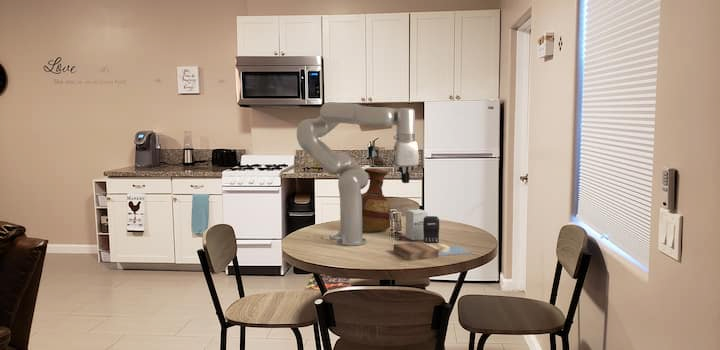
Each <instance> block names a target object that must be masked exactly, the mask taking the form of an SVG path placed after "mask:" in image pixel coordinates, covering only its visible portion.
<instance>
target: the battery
mask: <svg viewBox="0 0 720 350" xmlns="http://www.w3.org/2000/svg"><path fill="white" fill-rule="evenodd" d="M439 234H440V218H439V217H438V216H436V215H427V216H425V217H424V219H423V239H422V240H423V242H424V244H426V243H427V244H428V243H429V244H434V243H436V244H439V241H440V238H439V237H440V235H439Z"/></svg>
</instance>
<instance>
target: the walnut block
mask: <svg viewBox="0 0 720 350" xmlns="http://www.w3.org/2000/svg"><path fill="white" fill-rule="evenodd" d="M428 245H429V244H426V243H425V242H424V243H423V242H421V241H414V242H406V243H405V242H404V243H396V244H395V243H394V244H393V253H395V254H397V255H399V256H401V257H402V258H405V259H407V261H408V260H409V261H411V262H412V261H419V260H420V261H421V260H427V259H436V258H439V256H438V249H435V248H433V247H431V246H428Z"/></svg>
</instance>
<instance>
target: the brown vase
mask: <svg viewBox="0 0 720 350" xmlns="http://www.w3.org/2000/svg"><path fill="white" fill-rule="evenodd" d="M364 170H365V172H366V173H367V175H368V177H369V185H368V189H367V191H366V192H364V193H361V196H362V232H363V233H364V232H367V233H368V232H371V233H374V232H382V231H385V230H388V229H390V228H391V225H390V219H389V211H390V210H391V211H392V209H391V205H390V203H389V200H388V199H387V197H386V196H385V195H384V194H383V190H382V188H383V185H384V179H385V177H386V176H387V174H389V171H387V170H382V169H378V168H366V169H364Z"/></svg>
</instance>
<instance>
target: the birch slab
mask: <svg viewBox="0 0 720 350" xmlns="http://www.w3.org/2000/svg"><path fill="white" fill-rule="evenodd" d="M427 245H428V246H431V247H433V248H435V249H438V253H444V252H450V247H449V246H450V245H446V244H443V243H436V244H427Z"/></svg>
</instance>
